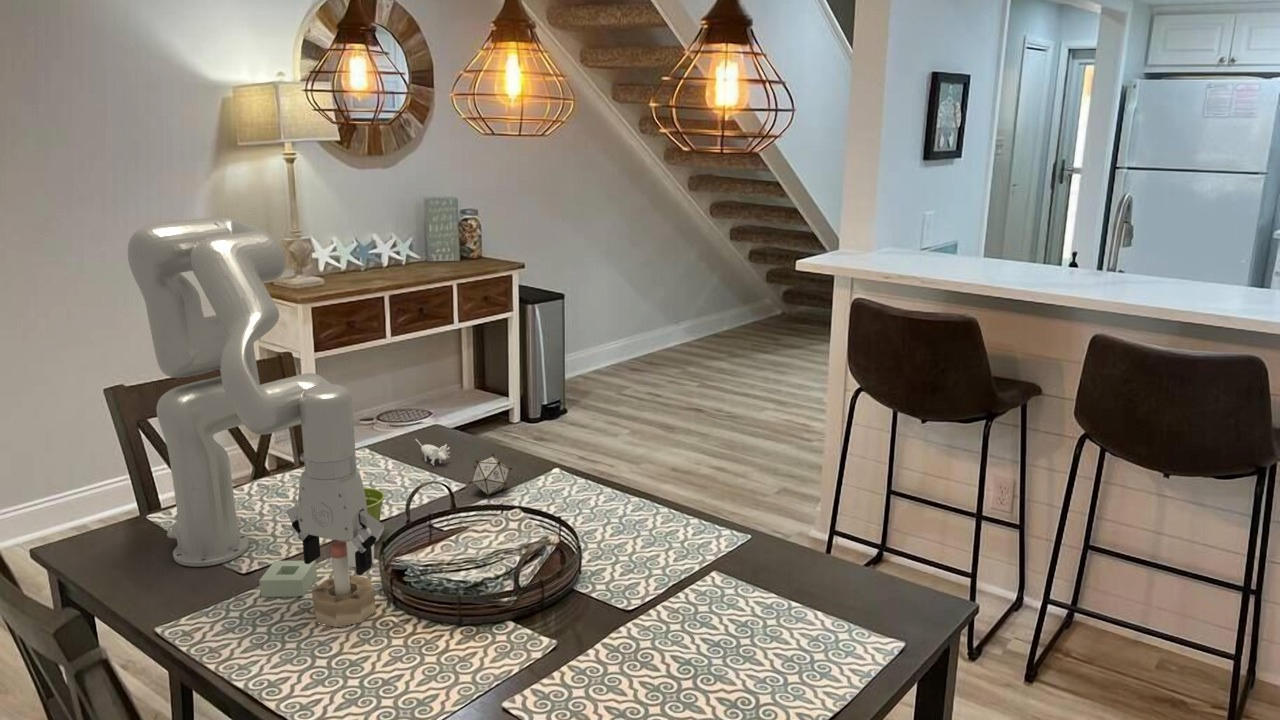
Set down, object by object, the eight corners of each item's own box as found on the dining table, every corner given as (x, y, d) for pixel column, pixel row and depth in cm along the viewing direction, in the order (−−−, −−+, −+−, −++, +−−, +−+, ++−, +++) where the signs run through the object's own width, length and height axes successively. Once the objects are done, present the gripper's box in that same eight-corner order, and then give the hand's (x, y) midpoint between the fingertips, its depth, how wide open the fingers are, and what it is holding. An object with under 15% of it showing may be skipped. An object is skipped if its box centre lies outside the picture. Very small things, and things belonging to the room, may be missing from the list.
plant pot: (396, 531, 183) (393, 489, 181) (374, 554, 174) (371, 509, 172) (350, 528, 184) (346, 486, 182) (326, 550, 175) (322, 506, 173)
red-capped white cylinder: (334, 614, 153) (327, 545, 150) (343, 607, 155) (336, 539, 152) (346, 617, 152) (339, 547, 149) (355, 609, 155) (349, 541, 152)
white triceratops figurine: (454, 465, 216) (453, 445, 215) (434, 471, 213) (432, 451, 212) (426, 451, 225) (425, 432, 224) (406, 457, 221) (404, 437, 220)
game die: (490, 506, 204) (495, 460, 207) (517, 501, 198) (522, 454, 202) (457, 496, 197) (463, 449, 201) (484, 491, 192) (490, 443, 196)
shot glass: (366, 570, 168) (363, 534, 166) (330, 567, 169) (326, 530, 167) (384, 553, 174) (381, 517, 172) (349, 550, 175) (346, 514, 174)
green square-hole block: (261, 596, 159) (259, 580, 158) (276, 576, 166) (274, 560, 165) (303, 596, 159) (301, 580, 158) (317, 576, 166) (315, 560, 165)
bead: (303, 620, 151) (300, 598, 150) (338, 594, 160) (336, 572, 159) (351, 631, 148) (349, 607, 147) (385, 603, 157) (383, 581, 156)
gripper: (267, 465, 147) (277, 566, 152) (364, 482, 141) (370, 586, 146) (300, 449, 154) (308, 546, 158) (393, 464, 148) (398, 565, 153)
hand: (338, 565), depth 152 cm, fingers open, 9 cm apart
